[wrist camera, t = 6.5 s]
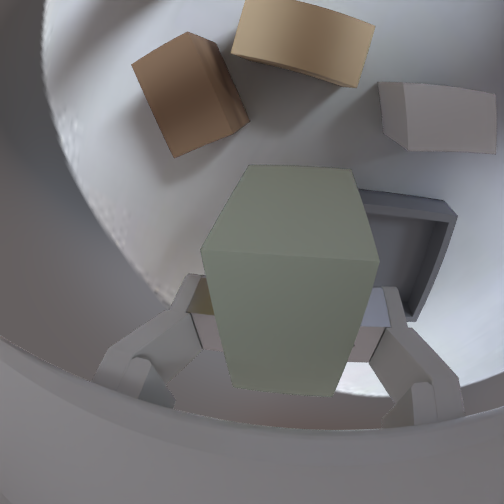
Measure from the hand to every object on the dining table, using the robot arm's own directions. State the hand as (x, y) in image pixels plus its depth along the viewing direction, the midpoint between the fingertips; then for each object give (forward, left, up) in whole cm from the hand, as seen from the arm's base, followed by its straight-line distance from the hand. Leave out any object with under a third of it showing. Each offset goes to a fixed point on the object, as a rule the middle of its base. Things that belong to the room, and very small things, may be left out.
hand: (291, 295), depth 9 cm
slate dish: (+6, +6, -12) cm, 15 cm away
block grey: (-6, +8, -12) cm, 16 cm away
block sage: (0, 0, -3) cm, 3 cm away
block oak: (-9, 0, -12) cm, 15 cm away
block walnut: (-6, -6, -12) cm, 15 cm away
